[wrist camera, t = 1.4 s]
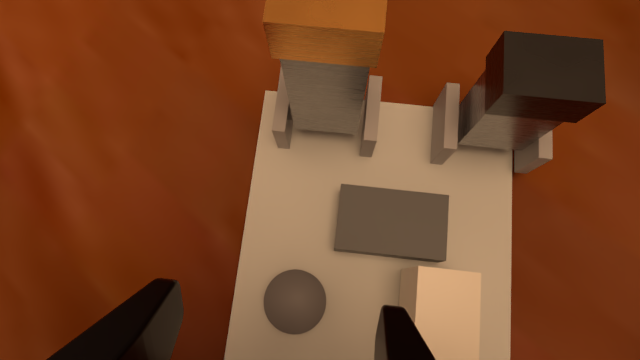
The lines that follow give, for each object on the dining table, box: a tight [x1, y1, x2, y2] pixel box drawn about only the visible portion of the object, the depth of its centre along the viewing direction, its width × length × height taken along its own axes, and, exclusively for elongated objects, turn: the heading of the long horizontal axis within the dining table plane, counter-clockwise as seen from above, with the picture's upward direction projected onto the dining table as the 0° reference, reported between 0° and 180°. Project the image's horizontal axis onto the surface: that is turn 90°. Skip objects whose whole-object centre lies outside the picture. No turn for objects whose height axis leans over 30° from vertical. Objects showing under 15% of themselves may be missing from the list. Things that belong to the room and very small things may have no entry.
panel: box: [224, 67, 553, 360], centre depth 20 cm, size 14×14×4 cm
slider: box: [399, 266, 481, 360], centre depth 18 cm, size 4×2×4 cm, turn 174°
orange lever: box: [263, 0, 387, 135], centre depth 17 cm, size 2×3×10 cm
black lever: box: [458, 31, 606, 151], centre depth 18 cm, size 2×3×7 cm
